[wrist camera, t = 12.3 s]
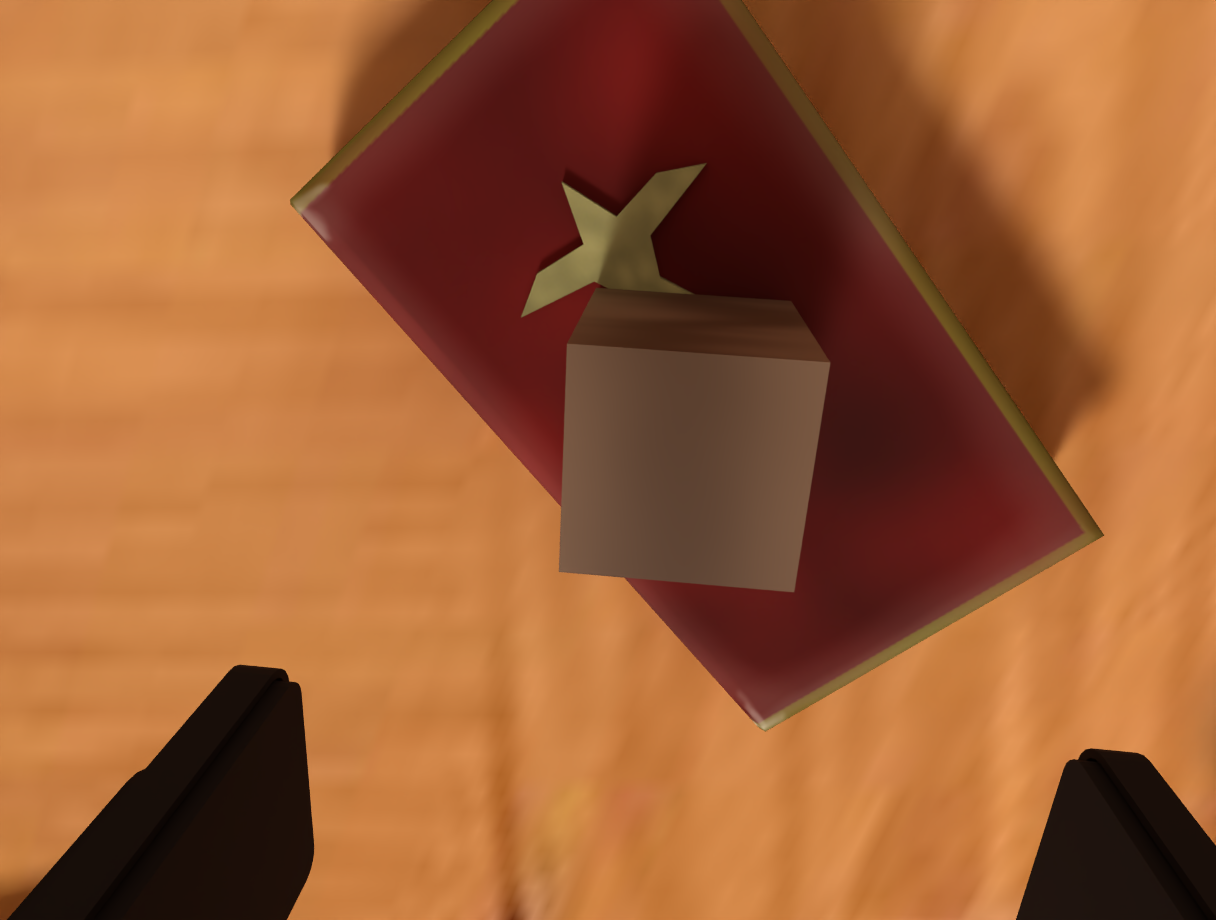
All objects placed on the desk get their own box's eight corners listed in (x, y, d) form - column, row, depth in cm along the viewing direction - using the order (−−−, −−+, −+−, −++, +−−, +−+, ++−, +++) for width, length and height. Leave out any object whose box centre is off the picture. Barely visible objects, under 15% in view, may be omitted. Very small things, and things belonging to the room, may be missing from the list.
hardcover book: (743, 664, 30) (755, 743, 27) (335, 198, 25) (274, 211, 21) (1045, 480, 27) (1109, 539, 23) (645, -101, 22) (641, -152, 18)
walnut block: (790, 300, 21) (830, 362, 16) (766, 480, 23) (793, 592, 18) (596, 287, 21) (566, 343, 16) (587, 466, 23) (559, 571, 18)
